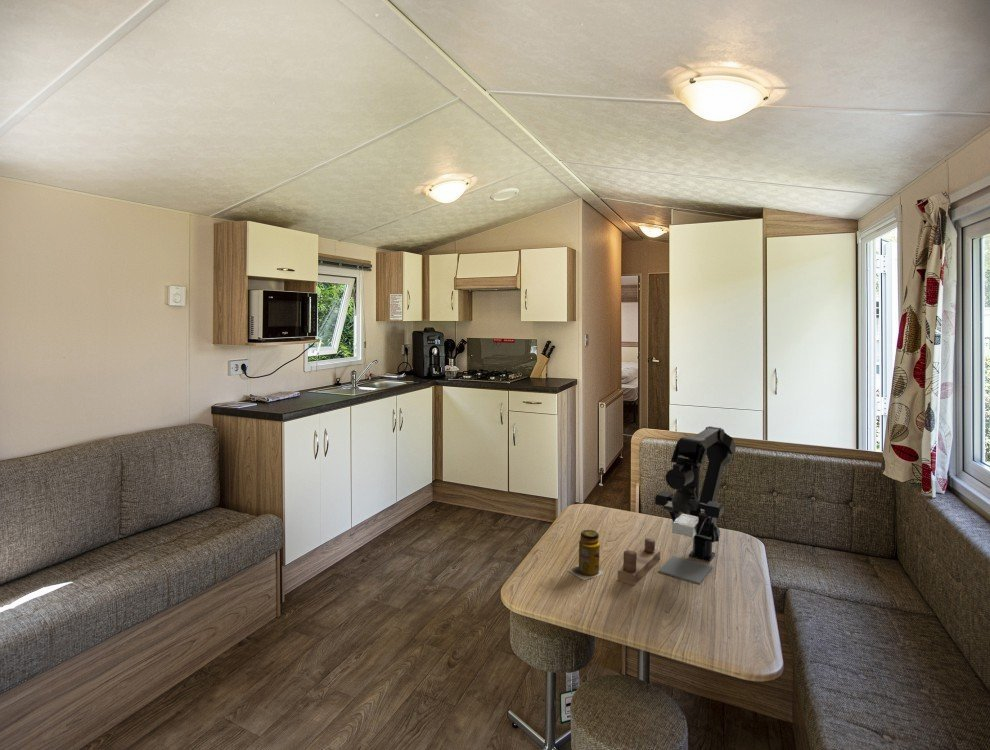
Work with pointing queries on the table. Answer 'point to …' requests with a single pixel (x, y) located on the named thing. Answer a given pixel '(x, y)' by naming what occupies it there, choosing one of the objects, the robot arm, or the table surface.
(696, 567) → the rubber mat
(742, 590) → the table surface
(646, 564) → the plane body
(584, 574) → the condiment
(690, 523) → the lever cap
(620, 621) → the table surface
